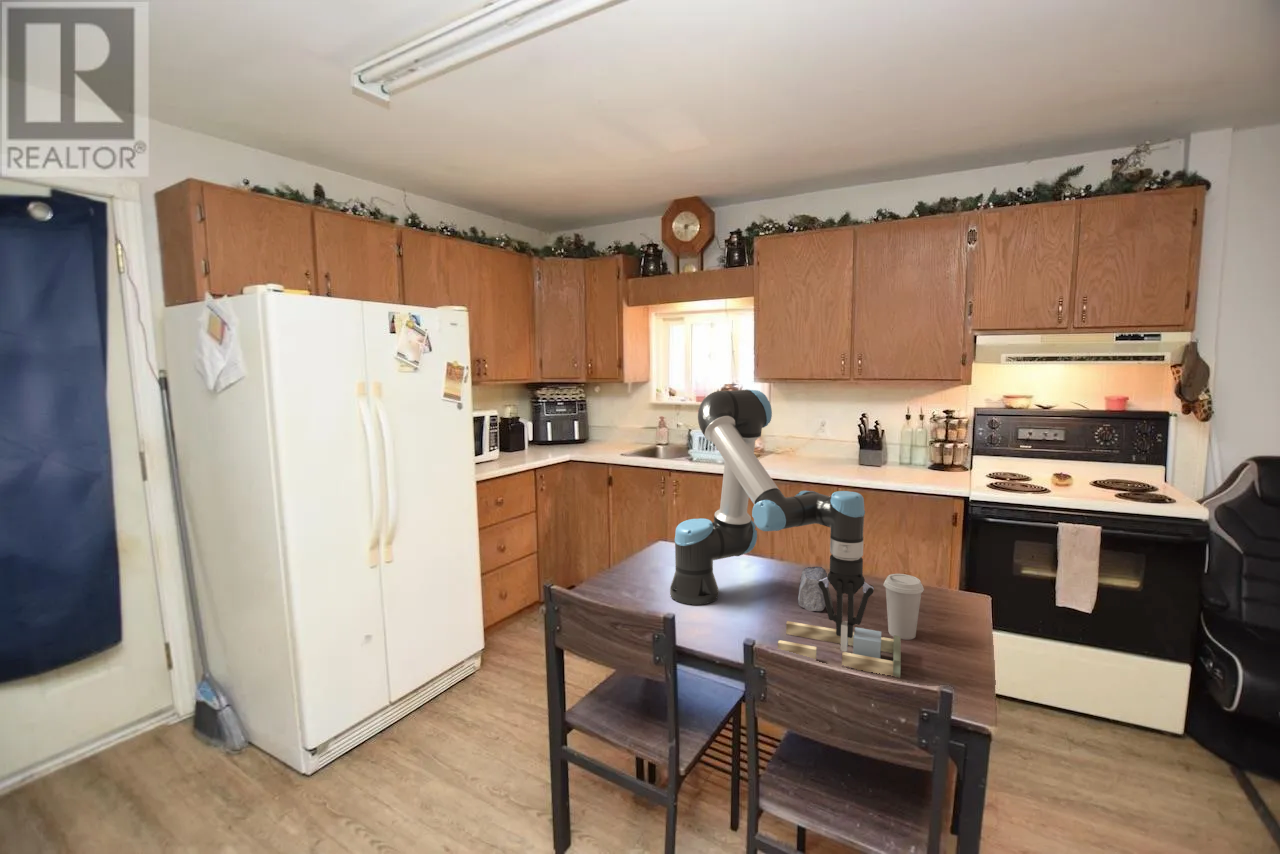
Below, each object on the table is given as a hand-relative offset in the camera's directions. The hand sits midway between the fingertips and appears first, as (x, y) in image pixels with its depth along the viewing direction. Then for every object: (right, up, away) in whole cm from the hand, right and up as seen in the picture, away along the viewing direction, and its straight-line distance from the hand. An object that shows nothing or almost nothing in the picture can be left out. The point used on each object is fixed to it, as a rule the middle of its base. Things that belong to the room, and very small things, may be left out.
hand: (844, 648), depth 138 cm
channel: (-2, -1, +1) cm, 2 cm away
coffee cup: (+19, 0, +10) cm, 21 cm away
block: (+5, -2, -2) cm, 5 cm away
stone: (+1, +1, +28) cm, 28 cm away
